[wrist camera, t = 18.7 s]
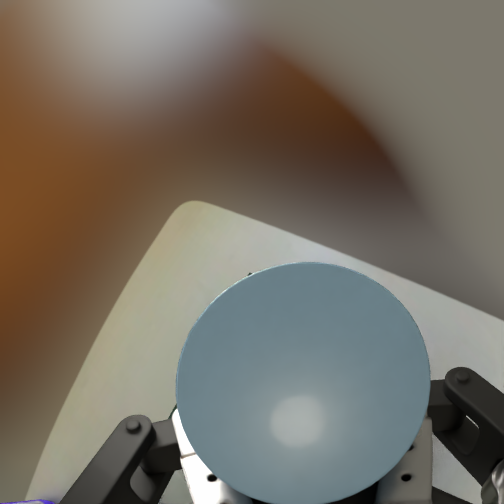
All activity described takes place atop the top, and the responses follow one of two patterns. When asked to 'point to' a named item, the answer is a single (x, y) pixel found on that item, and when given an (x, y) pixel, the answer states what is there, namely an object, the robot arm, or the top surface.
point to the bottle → (31, 502)
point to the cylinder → (303, 384)
